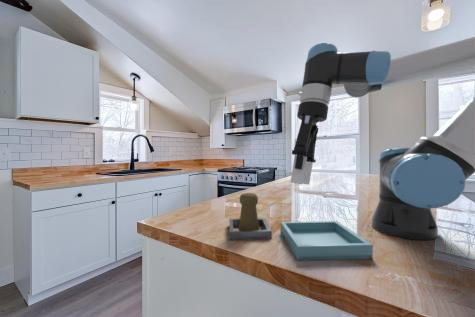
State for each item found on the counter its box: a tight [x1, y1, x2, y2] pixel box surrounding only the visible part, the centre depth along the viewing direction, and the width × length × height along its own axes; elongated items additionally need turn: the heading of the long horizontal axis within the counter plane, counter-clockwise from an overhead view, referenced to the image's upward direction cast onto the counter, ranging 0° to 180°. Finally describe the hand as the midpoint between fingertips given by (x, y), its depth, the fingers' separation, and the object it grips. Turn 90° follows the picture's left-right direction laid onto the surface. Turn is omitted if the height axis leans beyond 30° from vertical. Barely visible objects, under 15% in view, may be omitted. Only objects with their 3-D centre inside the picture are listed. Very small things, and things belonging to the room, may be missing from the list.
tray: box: [280, 220, 374, 262], centre depth 55 cm, size 16×16×3 cm
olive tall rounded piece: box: [238, 192, 260, 230], centre depth 64 cm, size 6×6×11 cm
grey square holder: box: [229, 217, 273, 241], centre depth 64 cm, size 11×11×2 cm
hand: (300, 183), depth 59 cm, fingers open, 13 cm apart
